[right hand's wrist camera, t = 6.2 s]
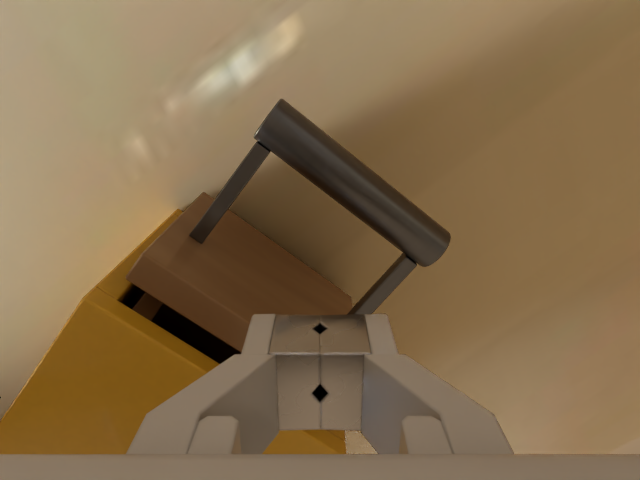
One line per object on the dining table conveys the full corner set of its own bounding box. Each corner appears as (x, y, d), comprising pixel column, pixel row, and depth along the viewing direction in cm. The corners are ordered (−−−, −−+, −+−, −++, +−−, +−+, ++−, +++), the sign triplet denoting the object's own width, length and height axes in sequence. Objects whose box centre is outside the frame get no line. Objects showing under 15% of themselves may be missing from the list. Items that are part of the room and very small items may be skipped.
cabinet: (178, 207, 23) (82, 297, 14) (337, 318, 25) (347, 459, 16) (48, 393, 27) (-93, 558, 18) (195, 473, 29) (138, 657, 20)
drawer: (279, 84, 20) (255, 89, 12) (431, 207, 22) (490, 276, 14) (73, 374, 25) (-31, 500, 18) (210, 452, 27) (168, 595, 20)
